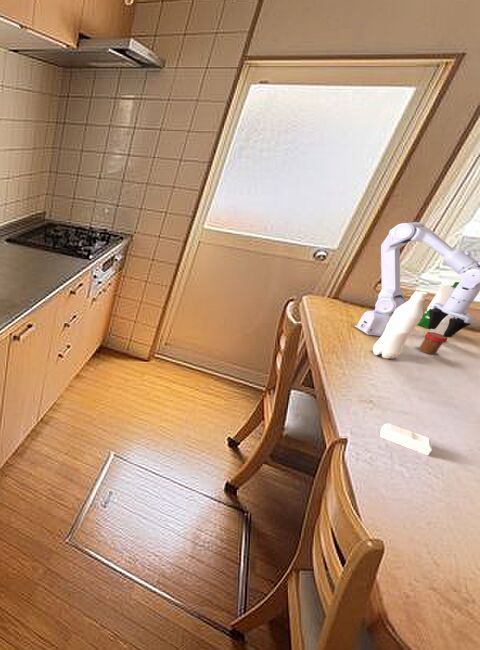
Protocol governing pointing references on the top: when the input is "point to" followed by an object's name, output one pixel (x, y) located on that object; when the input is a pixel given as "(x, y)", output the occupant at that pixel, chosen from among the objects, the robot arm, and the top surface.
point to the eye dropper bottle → (442, 325)
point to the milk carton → (439, 298)
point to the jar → (430, 346)
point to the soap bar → (406, 438)
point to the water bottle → (400, 326)
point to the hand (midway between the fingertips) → (438, 332)
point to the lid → (436, 337)
